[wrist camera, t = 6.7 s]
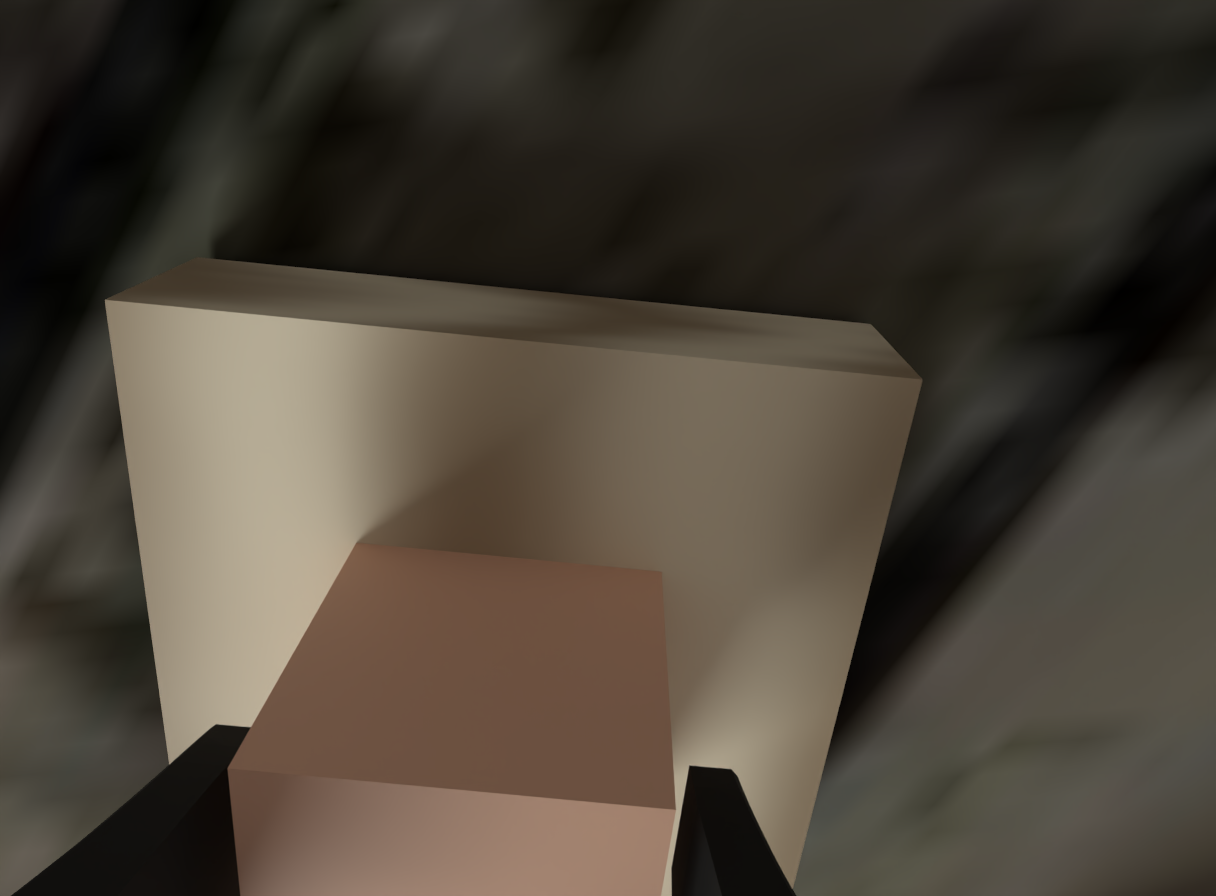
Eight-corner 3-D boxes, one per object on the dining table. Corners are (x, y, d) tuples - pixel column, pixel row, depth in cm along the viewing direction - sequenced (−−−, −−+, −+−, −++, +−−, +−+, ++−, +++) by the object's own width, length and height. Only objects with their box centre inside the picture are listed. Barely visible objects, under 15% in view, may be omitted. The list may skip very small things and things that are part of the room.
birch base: (870, 324, 16) (923, 379, 13) (759, 819, 21) (780, 935, 18) (196, 257, 15) (104, 300, 13) (245, 774, 20) (186, 886, 18)
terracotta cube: (661, 571, 14) (675, 810, 10) (628, 799, 16) (628, 1085, 12) (356, 541, 14) (226, 767, 10) (361, 774, 16) (255, 1052, 12)
